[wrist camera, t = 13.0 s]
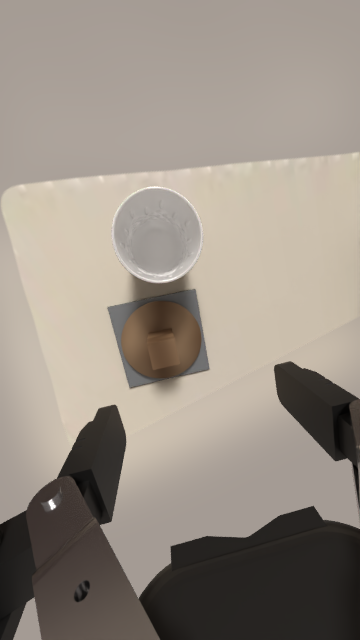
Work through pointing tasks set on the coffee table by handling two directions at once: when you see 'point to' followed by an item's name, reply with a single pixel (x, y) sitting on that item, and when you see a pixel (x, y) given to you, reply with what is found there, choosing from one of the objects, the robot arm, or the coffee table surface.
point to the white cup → (157, 235)
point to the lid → (161, 339)
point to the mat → (123, 311)
